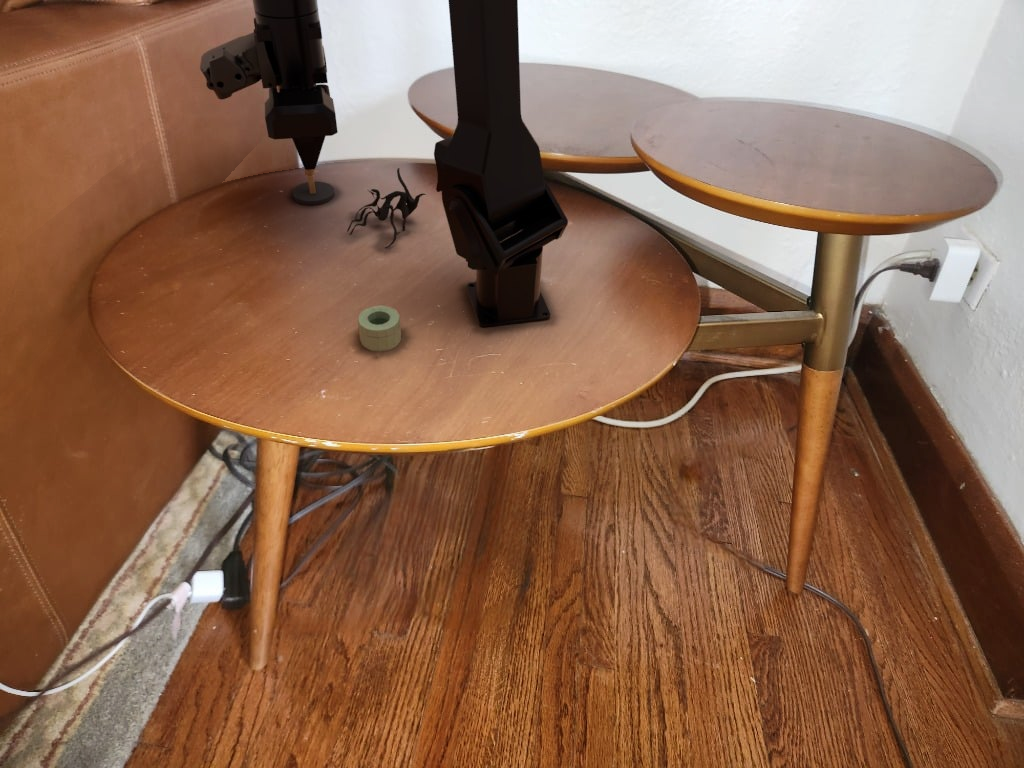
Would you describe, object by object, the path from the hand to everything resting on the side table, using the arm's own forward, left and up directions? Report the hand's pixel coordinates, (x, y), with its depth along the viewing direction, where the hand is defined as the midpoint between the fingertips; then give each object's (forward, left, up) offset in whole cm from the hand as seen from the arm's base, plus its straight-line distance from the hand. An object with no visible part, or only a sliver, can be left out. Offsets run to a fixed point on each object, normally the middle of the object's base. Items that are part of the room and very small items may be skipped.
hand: (309, 166), depth 83 cm
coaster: (0, 0, -3) cm, 3 cm away
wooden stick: (0, 0, -3) cm, 3 cm away
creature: (-8, -6, -4) cm, 11 cm away
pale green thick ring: (-26, -4, -3) cm, 27 cm away
